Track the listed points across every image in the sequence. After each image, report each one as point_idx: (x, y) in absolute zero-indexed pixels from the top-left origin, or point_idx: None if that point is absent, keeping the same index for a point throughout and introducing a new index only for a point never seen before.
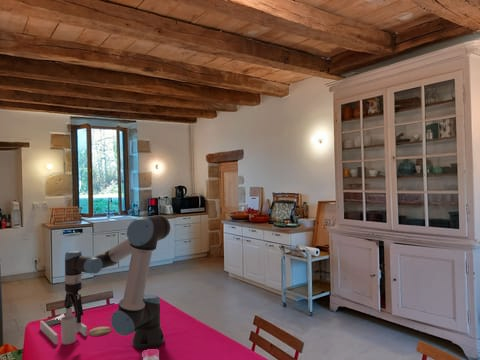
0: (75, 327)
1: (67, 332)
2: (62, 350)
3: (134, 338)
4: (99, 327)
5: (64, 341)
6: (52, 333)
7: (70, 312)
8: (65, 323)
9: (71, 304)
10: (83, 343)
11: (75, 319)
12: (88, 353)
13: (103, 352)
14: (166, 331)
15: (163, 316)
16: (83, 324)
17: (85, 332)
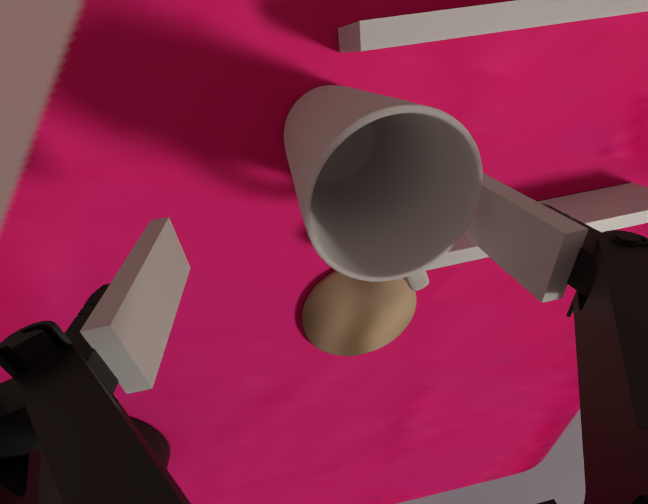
0: (147, 232)
1: (292, 141)
2: (184, 61)
3: (42, 459)
4: (405, 315)
5: (299, 102)
6: (442, 10)
7: (502, 252)
8: (313, 146)
9: (578, 343)
10: (242, 217)
11: (111, 294)
12: (43, 223)
13: (30, 299)
14: (190, 494)
15: (344, 487)
16: (430, 267)
17: None
